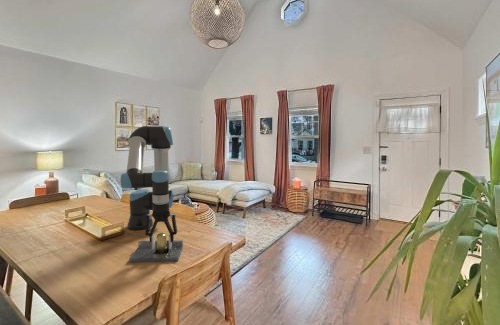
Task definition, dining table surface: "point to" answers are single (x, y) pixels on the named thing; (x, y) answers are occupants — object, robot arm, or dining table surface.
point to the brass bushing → (161, 243)
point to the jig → (149, 255)
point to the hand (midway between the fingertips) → (161, 248)
